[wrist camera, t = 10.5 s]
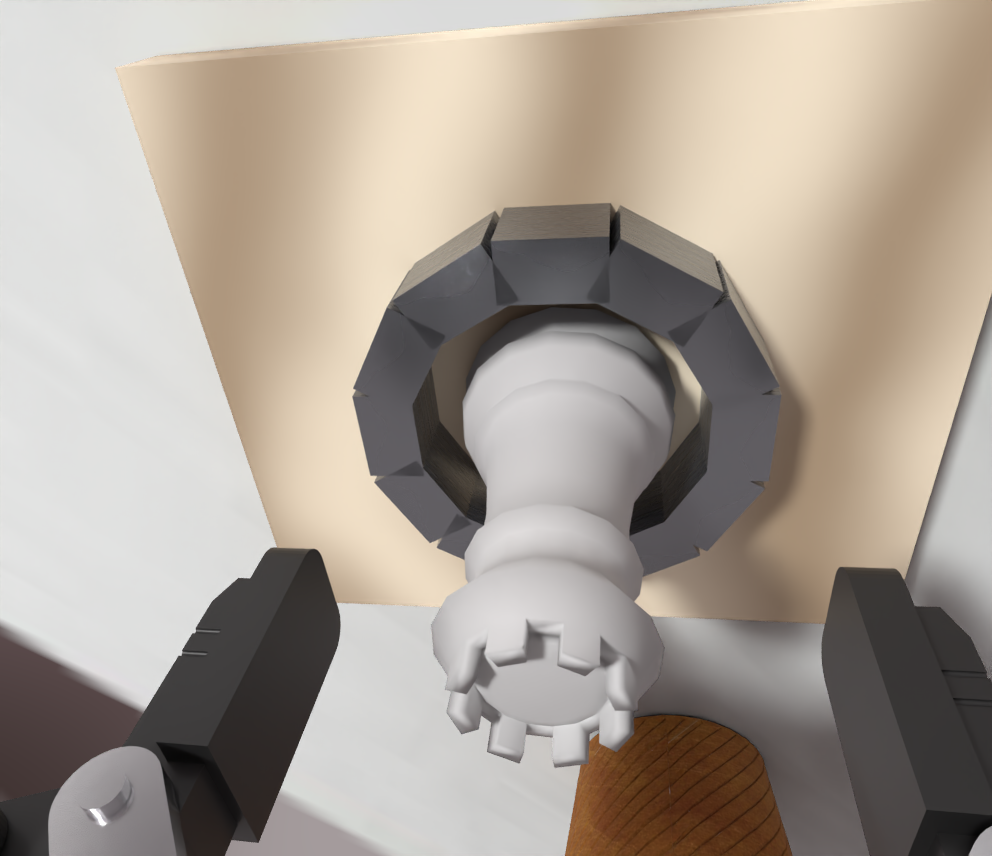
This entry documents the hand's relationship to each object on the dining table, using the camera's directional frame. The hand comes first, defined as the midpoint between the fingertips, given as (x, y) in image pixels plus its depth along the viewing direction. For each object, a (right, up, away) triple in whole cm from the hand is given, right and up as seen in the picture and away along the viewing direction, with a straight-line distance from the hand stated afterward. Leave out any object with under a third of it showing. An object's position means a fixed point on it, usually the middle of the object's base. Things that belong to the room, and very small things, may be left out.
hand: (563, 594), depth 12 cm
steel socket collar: (0, +3, +5) cm, 6 cm away
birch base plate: (+1, +4, +6) cm, 7 cm away
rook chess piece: (+1, +4, +5) cm, 6 cm away
